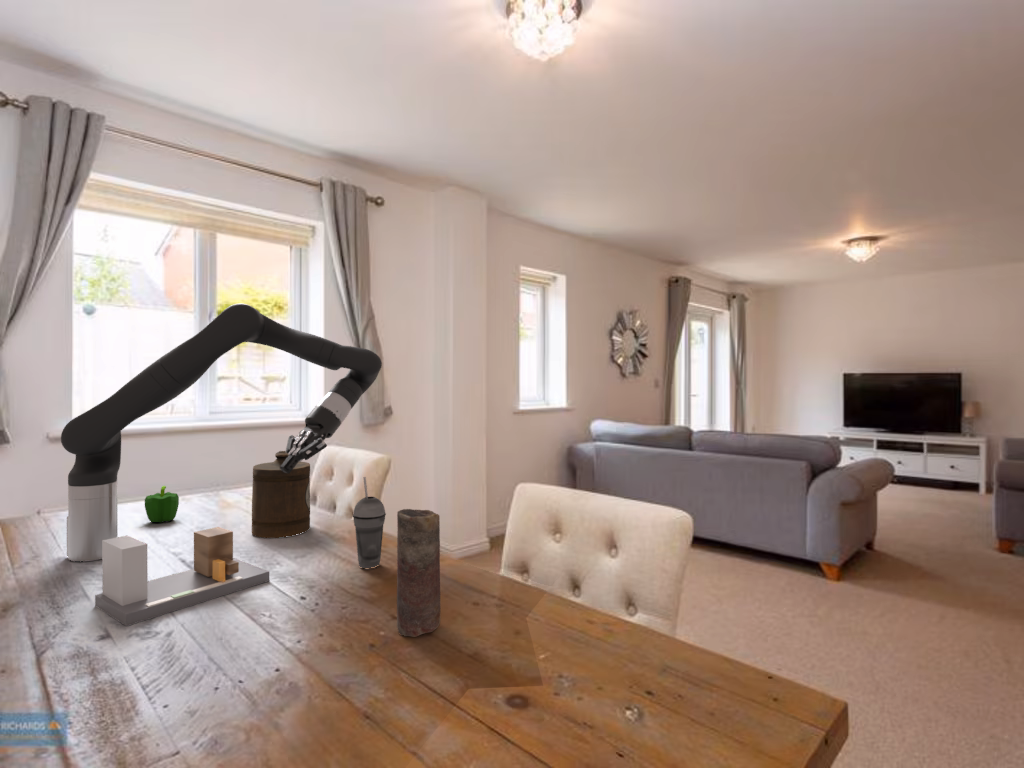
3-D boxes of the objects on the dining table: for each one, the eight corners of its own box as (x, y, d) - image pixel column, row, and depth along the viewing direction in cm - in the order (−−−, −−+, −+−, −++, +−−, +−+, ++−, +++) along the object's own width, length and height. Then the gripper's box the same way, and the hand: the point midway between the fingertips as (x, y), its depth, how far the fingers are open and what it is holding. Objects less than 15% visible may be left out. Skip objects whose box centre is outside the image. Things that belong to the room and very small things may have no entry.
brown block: (218, 564, 119) (218, 526, 119) (245, 575, 113) (245, 535, 112) (193, 570, 115) (193, 532, 115) (221, 582, 109) (220, 541, 108)
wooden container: (321, 528, 155) (321, 450, 155) (273, 542, 143) (273, 456, 142) (288, 521, 163) (288, 446, 163) (240, 533, 151) (240, 451, 150)
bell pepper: (167, 525, 158) (167, 490, 157) (138, 525, 158) (138, 489, 158) (185, 517, 166) (185, 484, 166) (158, 517, 166) (157, 484, 166)
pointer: (218, 576, 111) (218, 559, 111) (229, 581, 109) (229, 563, 109) (212, 578, 110) (212, 560, 110) (223, 583, 108) (223, 564, 108)
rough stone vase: (399, 619, 98) (399, 506, 98) (441, 618, 99) (441, 505, 98) (394, 639, 90) (394, 517, 90) (439, 638, 91) (440, 516, 91)
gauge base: (234, 567, 124) (234, 513, 124) (269, 580, 116) (269, 523, 116) (95, 605, 103) (94, 541, 103) (126, 626, 95) (126, 555, 94)
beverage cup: (377, 572, 121) (377, 481, 121) (346, 570, 122) (346, 479, 122) (391, 561, 128) (391, 475, 128) (361, 559, 129) (361, 473, 129)
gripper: (303, 403, 139) (256, 458, 130) (336, 405, 132) (289, 463, 122) (321, 423, 144) (278, 477, 134) (354, 426, 136) (311, 484, 126)
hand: (283, 471), depth 128 cm, fingers closed
